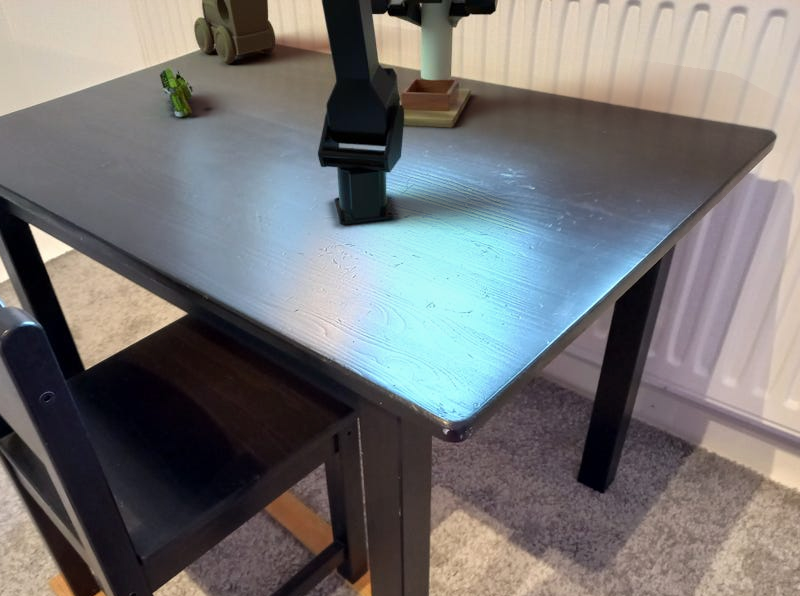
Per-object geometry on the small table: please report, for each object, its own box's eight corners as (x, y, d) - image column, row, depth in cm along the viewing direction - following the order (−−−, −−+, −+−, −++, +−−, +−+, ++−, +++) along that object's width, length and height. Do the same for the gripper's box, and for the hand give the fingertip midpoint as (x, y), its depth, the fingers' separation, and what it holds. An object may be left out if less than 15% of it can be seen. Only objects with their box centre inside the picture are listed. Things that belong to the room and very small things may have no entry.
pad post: (456, 73, 108) (460, -30, 99) (442, 81, 105) (445, -23, 97) (429, 69, 110) (431, -31, 102) (415, 78, 107) (415, -25, 99)
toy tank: (150, 90, 113) (208, 67, 114) (144, 61, 128) (195, 40, 128) (168, 131, 118) (224, 109, 118) (160, 98, 132) (210, 78, 133)
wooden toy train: (284, 58, 141) (274, -36, 131) (233, 70, 137) (218, -26, 127) (241, 39, 155) (229, -47, 145) (193, 51, 151) (177, -37, 141)
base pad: (452, 127, 105) (453, 102, 102) (387, 124, 108) (387, 100, 106) (470, 96, 115) (471, 72, 113) (410, 94, 118) (410, 71, 116)
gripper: (506, -110, 87) (513, -28, 102) (363, -102, 93) (389, -26, 108) (489, -26, 86) (499, 45, 101) (346, -24, 93) (375, 43, 107)
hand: (439, 24), depth 104 cm, fingers closed on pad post, 4 cm apart
